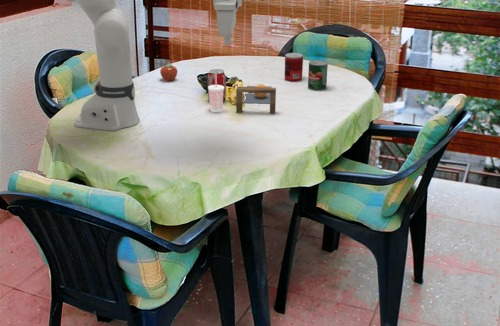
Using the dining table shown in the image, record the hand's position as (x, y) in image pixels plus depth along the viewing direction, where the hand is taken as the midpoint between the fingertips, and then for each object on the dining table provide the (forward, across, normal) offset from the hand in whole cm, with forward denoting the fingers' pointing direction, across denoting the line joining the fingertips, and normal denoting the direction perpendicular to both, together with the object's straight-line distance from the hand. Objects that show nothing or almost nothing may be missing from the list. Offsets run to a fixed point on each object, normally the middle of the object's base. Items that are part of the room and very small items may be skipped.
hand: (227, 44), depth 198 cm
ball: (+28, -42, +9) cm, 52 cm away
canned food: (+31, -70, +22) cm, 80 cm away
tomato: (+31, -64, -32) cm, 78 cm away
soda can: (+31, -37, -8) cm, 49 cm away
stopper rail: (+31, -50, +8) cm, 59 cm away
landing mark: (+31, -41, +8) cm, 52 cm away
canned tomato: (+31, -58, +32) cm, 73 cm away
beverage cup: (+31, -26, -7) cm, 41 cm away
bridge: (+31, -25, +8) cm, 41 cm away
